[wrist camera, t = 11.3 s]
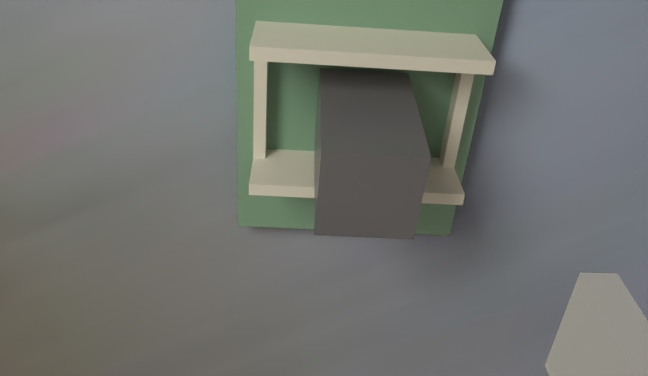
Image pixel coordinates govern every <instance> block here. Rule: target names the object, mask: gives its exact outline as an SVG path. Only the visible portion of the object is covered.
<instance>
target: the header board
mask: <svg viewBox="0 0 648 376" xmlns="http://www.w3.org/2000/svg"><path fill="white" fill-rule="evenodd" d="M502 4H503V0H236V70H237V183H238V226H250V227H272V228H294V229H314V141H315V128H316V114H317V100H318V87H319V73H320V68H324V69H341V70H358V71H375V72H392V73H408V74H409V78H410V81H411V85H412V89H413V92H414V96H415V100H416V103H417V107H418V111H419V114H420V118H421V122H422V125H423V129H424V133H425V136H426V140H427V144H428V147H429V151H430V155H431V162H430V166H429V171H428V175H427V180H426V184H425V189H424V193H423V198H422V202H421V207H420V212H419V216H418V221H417V225H416V230H415V234H428V235H450V233H451V228H452V224H453V219H454V215H455V211H456V206H457V205H463V201H464V197H465V194H464V191H463V189H462V186H461V184H462V180H463V175H464V171H465V167H466V162H467V158H468V154H469V149H470V145H471V140H472V136H473V132H474V127H475V123H476V118H477V114H478V110H479V105H480V101H481V96H482V92H483V88H484V83H485V79H486V75H493V73H494V68H495V64H496V61H495V59H494V58H493V57H492V55H491V53H492V48H493V44H494V39H495V35H496V31H497V26H498V22H499V17H500V13H501V9H502Z"/></svg>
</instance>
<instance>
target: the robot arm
mask: <svg viewBox="0 0 648 376" xmlns="http://www.w3.org/2000/svg"><path fill="white" fill-rule="evenodd" d="M545 367H546V370H547V372H548V374H549V376H648V320H647V319H646V317H645V316H644V314H643V313H642V311H641V309H640V308H639V306H638V305H637V303H636V302H635V300H634V299H633V297H632V296H631V294H630V292H629V291H628V289H627V288H626V286H625V285H624V283H623V282H622V280H621V278H620V277H619V275H618V274H611V273H580V274H579V277H578V279H577V282H576V284H575V287H574V290H573V292H572V295H571V298H570V300H569V303H568V305H567V308H566V311H565V313H564V316H563V319H562V321H561V324H560V326H559V329H558V332H557V334H556V337H555V340H554V342H553V345H552V347H551V350H550V353H549V355H548V358H547V360H546V363H545Z"/></svg>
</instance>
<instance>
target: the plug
mask: <svg viewBox="0 0 648 376" xmlns="http://www.w3.org/2000/svg"><path fill="white" fill-rule="evenodd" d="M430 162H431V155H430V151H429V147H428V144H427V140H426V136H425V133H424V129H423V125H422V122H421V118H420V114H419V111H418V107H417V103H416V100H415V96H414V92H413V89H412V85H411V81H410V78H409V74H408V73H392V72H375V71H358V70H341V69H324V68H320V73H319V87H318V100H317V114H316V128H315V141H314V235H330V236H353V237H376V238H398V239H414V234H415V230H416V225H417V221H418V216H419V212H420V207H421V202H422V198H423V193H424V189H425V184H426V180H427V175H428V171H429V166H430Z"/></svg>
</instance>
